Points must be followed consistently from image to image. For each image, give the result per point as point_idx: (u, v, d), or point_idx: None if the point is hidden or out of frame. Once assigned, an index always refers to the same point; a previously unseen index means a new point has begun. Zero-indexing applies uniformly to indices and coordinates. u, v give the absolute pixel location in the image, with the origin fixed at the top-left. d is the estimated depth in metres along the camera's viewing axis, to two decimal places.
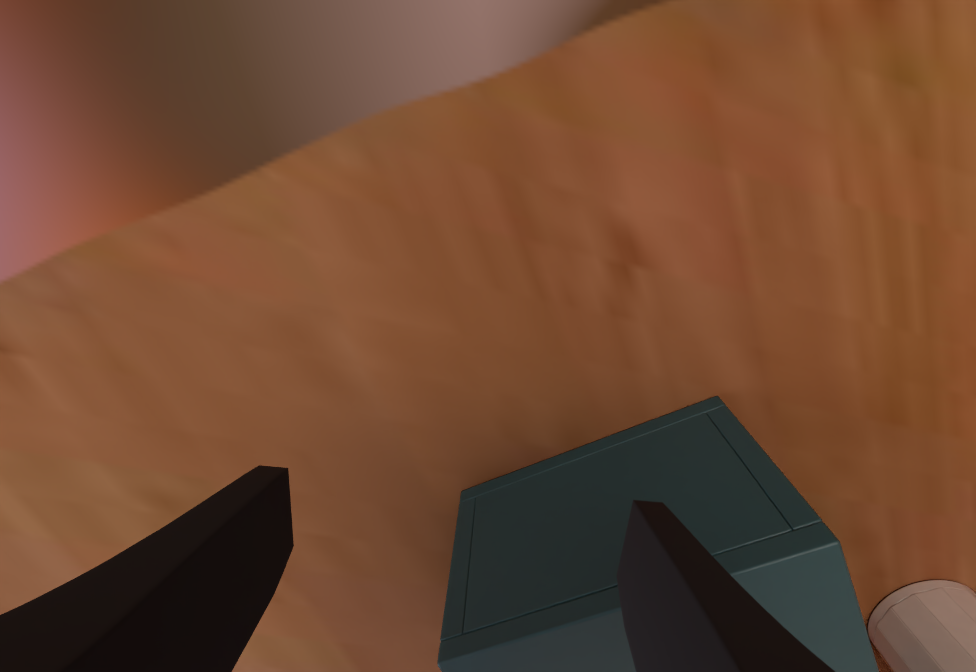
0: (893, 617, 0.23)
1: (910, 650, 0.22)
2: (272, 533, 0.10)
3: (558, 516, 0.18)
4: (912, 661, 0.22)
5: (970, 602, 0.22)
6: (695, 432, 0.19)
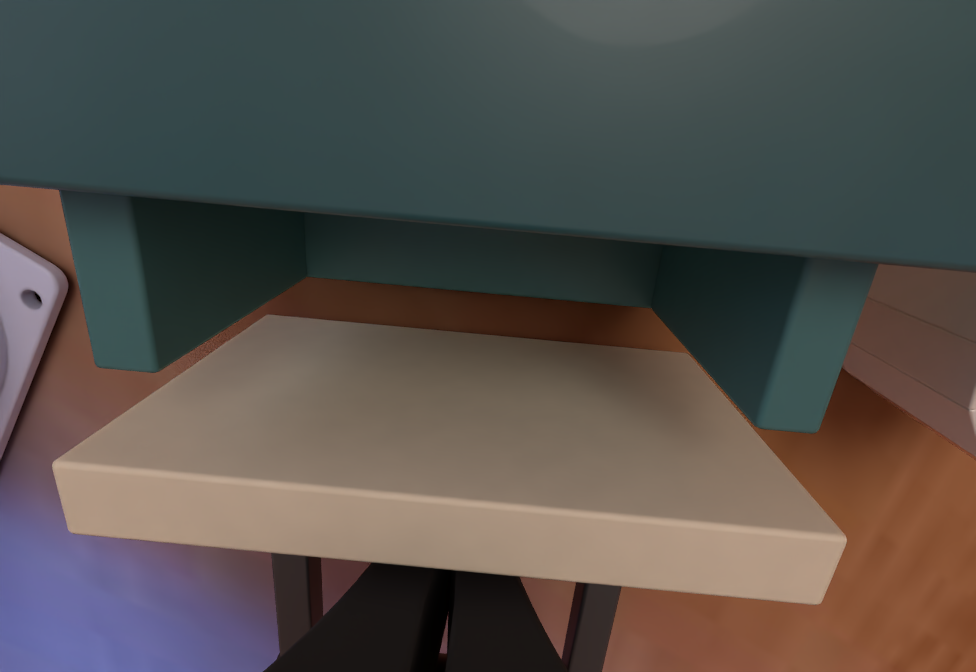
0: None
1: None
2: None
3: None
4: None
5: None
6: None
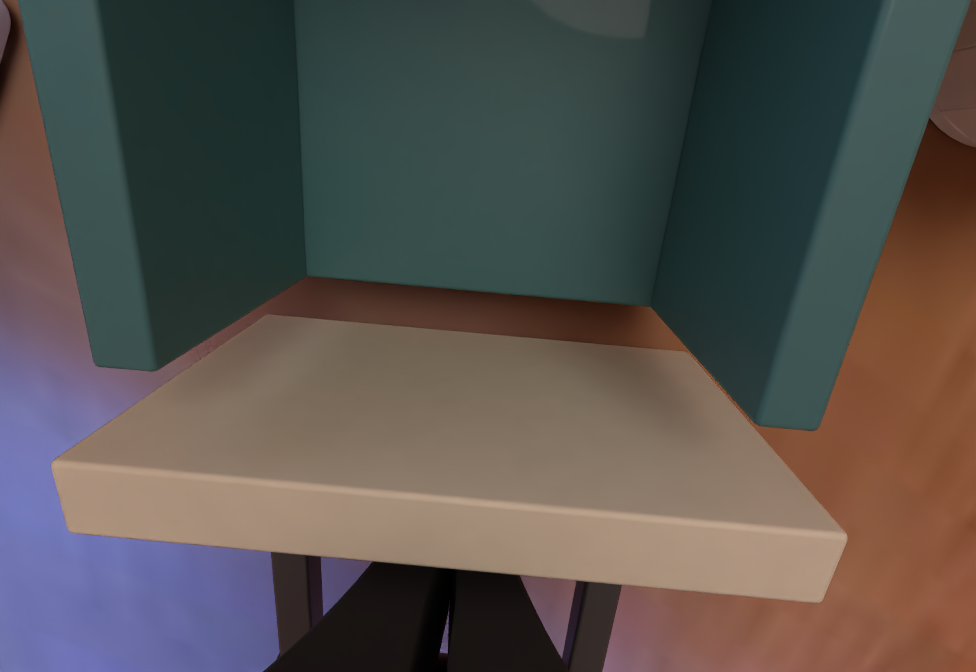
0: None
1: None
2: None
3: None
4: None
5: None
6: None
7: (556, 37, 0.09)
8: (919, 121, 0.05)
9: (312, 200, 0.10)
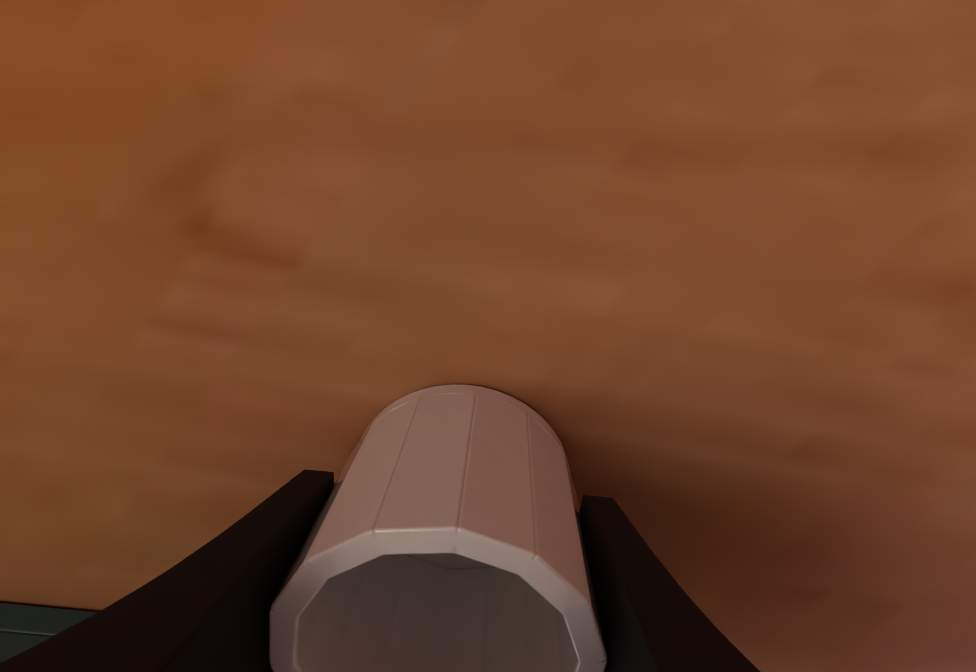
0: None
1: None
2: None
3: None
4: None
5: (354, 452, 0.10)
6: None
7: None
8: None
9: None
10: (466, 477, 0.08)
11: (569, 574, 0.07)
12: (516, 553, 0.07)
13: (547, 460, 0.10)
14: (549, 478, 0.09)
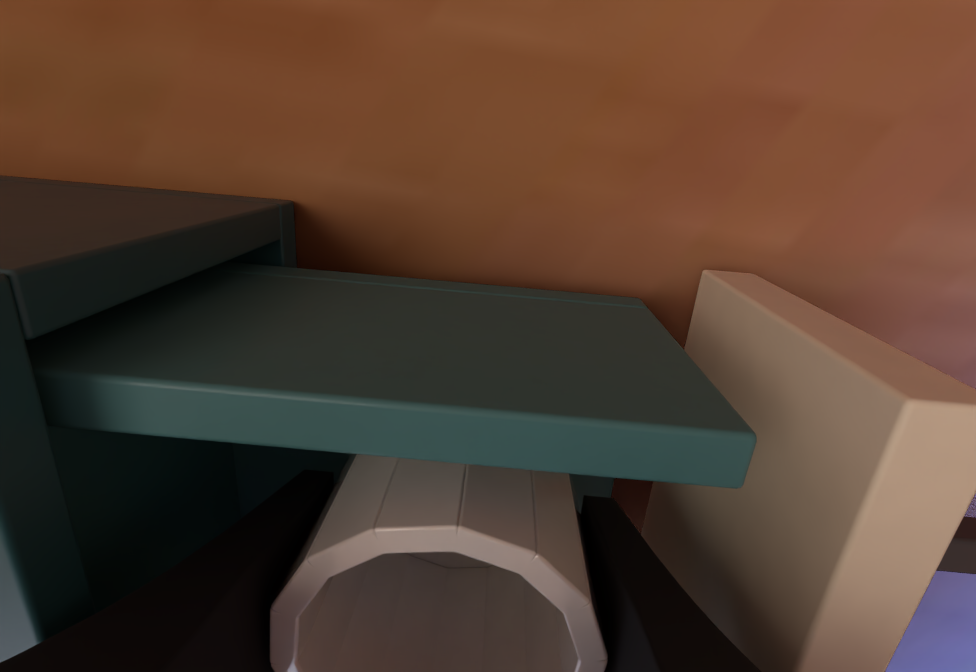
0: None
1: None
2: None
3: None
4: None
5: None
6: None
7: None
8: (459, 422, 0.06)
9: None
10: (466, 477, 0.08)
11: (570, 573, 0.07)
12: (517, 552, 0.07)
13: None
14: (550, 477, 0.09)
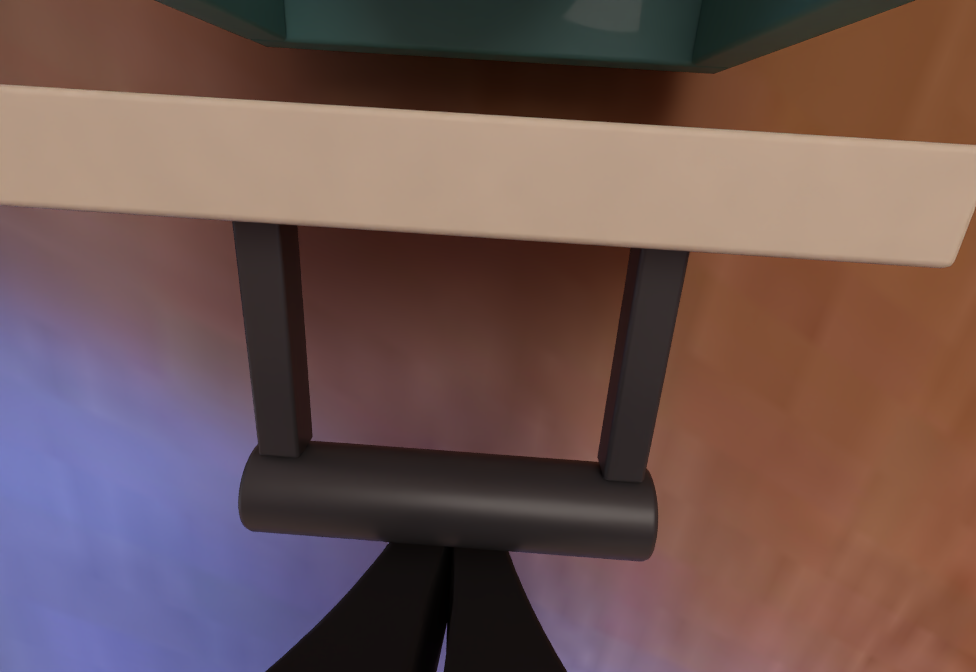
0: None
1: None
2: None
3: None
4: None
5: None
6: None
7: None
8: None
9: None
10: None
11: None
12: None
13: None
14: None
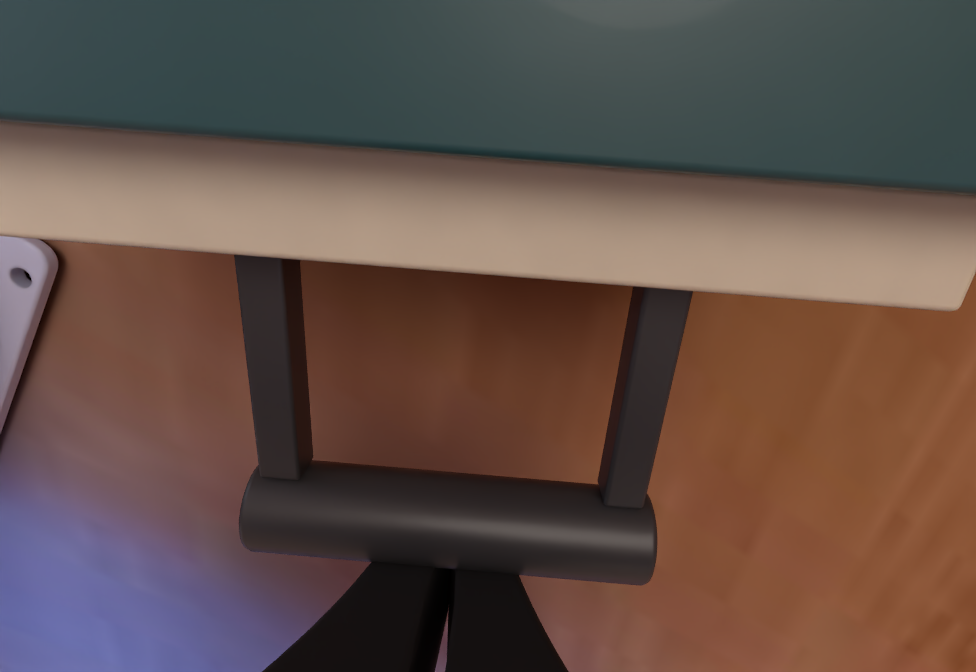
0: None
1: None
2: None
3: None
4: None
5: None
6: None
7: None
8: None
9: None
10: None
11: None
12: None
13: None
14: None
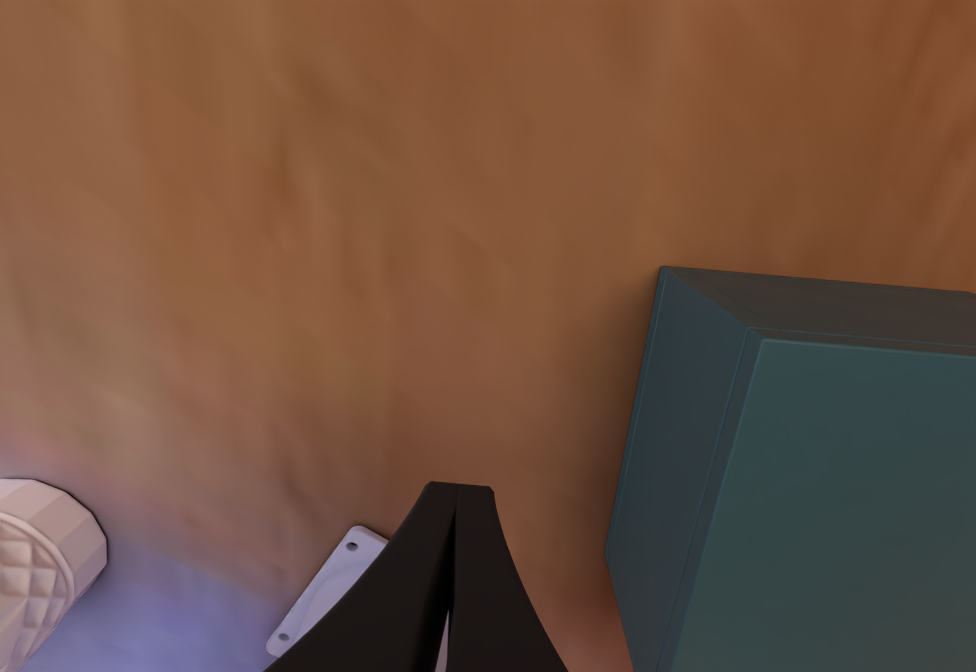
0: None
1: None
2: (452, 550, 0.10)
3: (836, 301, 0.15)
4: None
5: None
6: (969, 301, 0.17)
7: None
8: None
9: None
10: None
11: None
12: None
13: None
14: None
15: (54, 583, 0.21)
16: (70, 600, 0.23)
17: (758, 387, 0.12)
